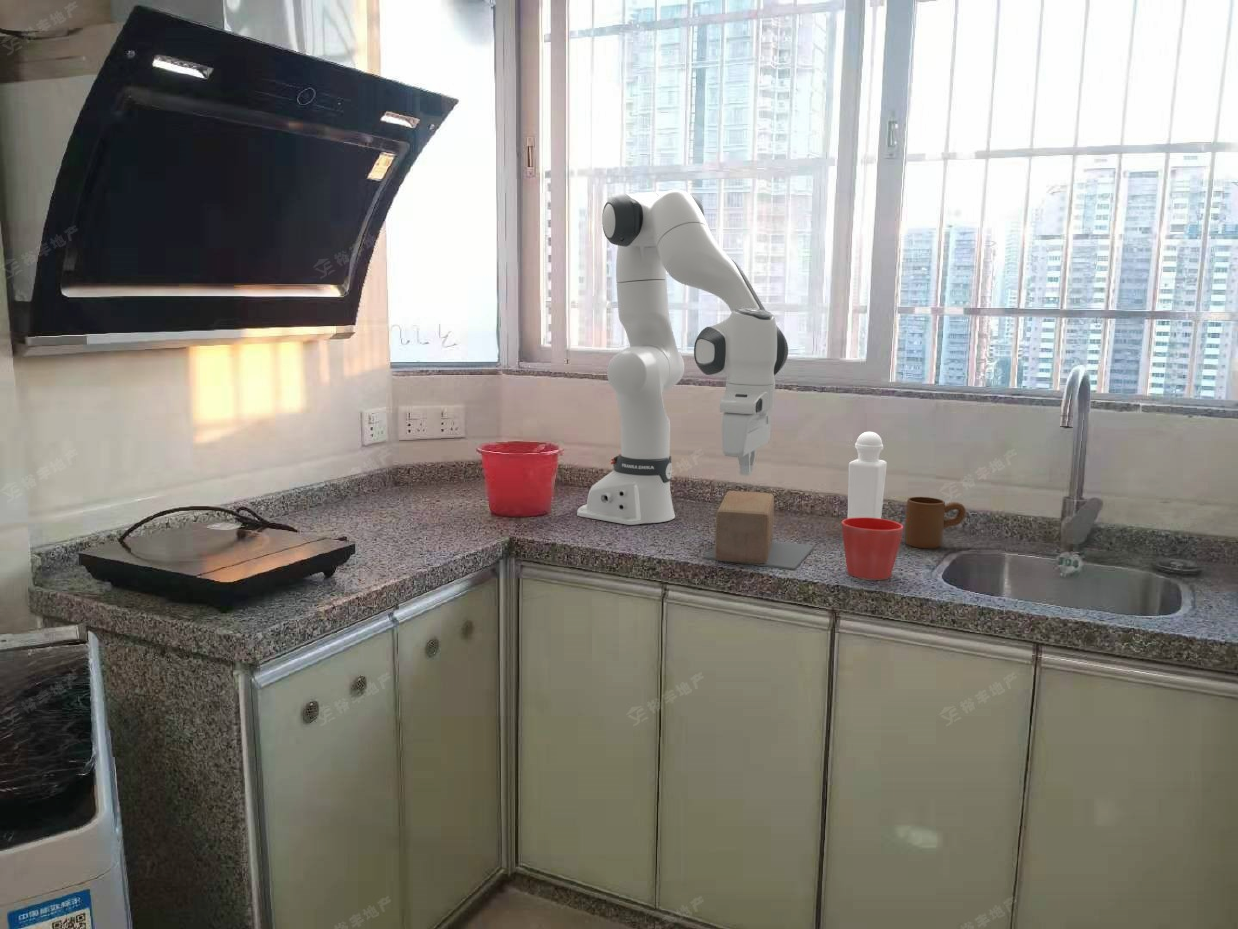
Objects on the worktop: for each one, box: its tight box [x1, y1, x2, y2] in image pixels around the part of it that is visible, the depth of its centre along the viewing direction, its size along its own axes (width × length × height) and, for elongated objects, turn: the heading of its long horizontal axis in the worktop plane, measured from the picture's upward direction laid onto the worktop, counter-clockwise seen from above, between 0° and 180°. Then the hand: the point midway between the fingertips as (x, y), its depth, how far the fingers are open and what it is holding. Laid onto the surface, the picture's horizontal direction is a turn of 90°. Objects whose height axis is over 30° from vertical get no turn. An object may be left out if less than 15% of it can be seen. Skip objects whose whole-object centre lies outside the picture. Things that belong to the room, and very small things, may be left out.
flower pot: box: [841, 517, 905, 581], centre depth 174 cm, size 11×11×10 cm
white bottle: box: [847, 431, 888, 519], centre depth 205 cm, size 6×6×22 cm
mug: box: [903, 496, 967, 550], centre depth 196 cm, size 12×8×9 cm, turn 87°
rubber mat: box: [702, 540, 815, 571], centre depth 188 cm, size 18×18×1 cm
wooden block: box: [714, 490, 775, 564], centre depth 188 cm, size 10×10×20 cm
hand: (746, 474), depth 174 cm, fingers closed
